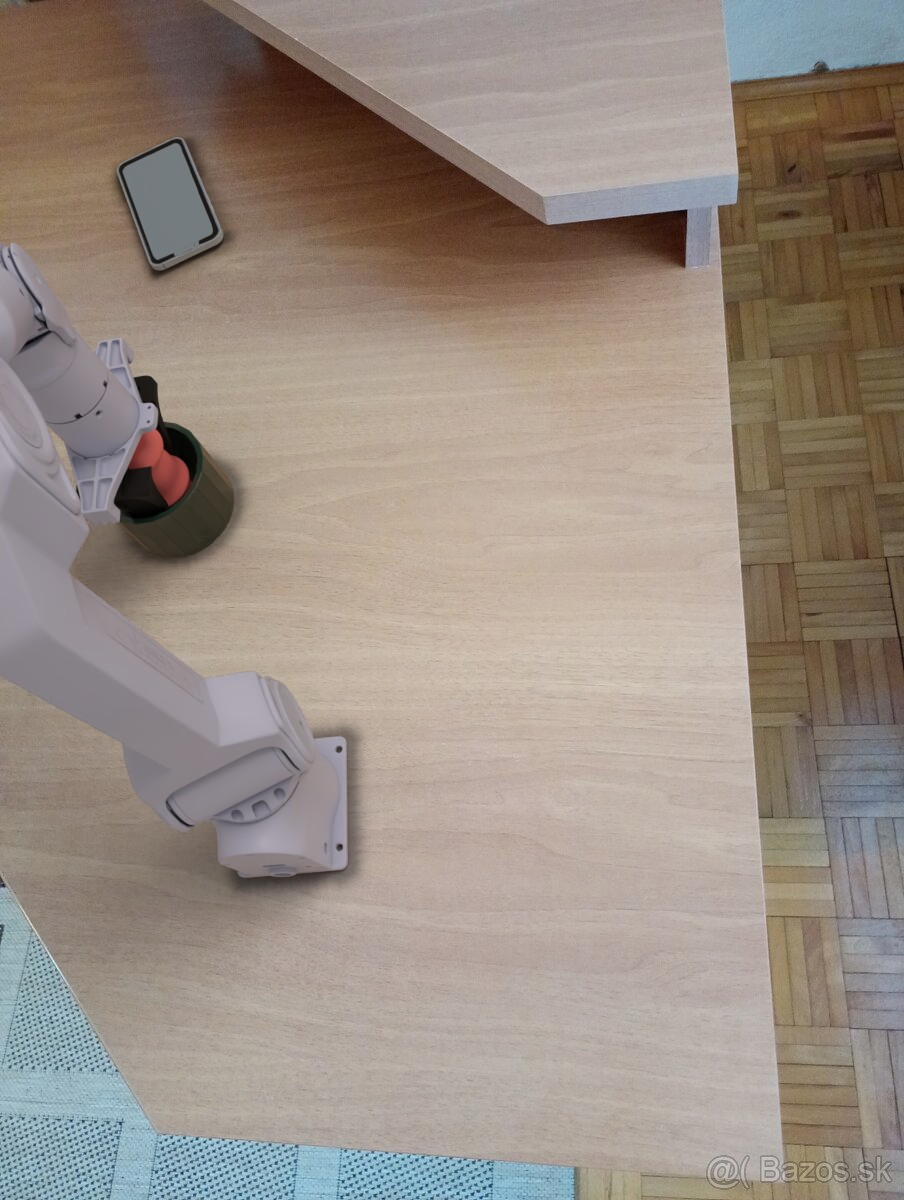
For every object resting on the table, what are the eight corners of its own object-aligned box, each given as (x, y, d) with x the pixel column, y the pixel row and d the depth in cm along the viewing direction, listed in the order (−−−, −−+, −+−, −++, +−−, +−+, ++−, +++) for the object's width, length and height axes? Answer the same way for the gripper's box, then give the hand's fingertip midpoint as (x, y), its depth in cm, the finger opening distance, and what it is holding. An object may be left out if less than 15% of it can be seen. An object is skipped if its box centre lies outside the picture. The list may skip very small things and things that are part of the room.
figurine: (197, 533, 86) (105, 437, 72) (141, 528, 87) (40, 432, 74) (214, 477, 88) (128, 373, 74) (159, 472, 89) (64, 369, 75)
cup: (232, 550, 86) (200, 515, 80) (128, 564, 88) (89, 531, 82) (236, 453, 90) (205, 413, 84) (136, 468, 91) (99, 430, 85)
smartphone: (181, 133, 104) (224, 235, 98) (186, 141, 105) (228, 242, 99) (113, 166, 105) (151, 269, 98) (118, 173, 105) (155, 276, 99)
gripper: (115, 472, 69) (202, 559, 81) (131, 291, 74) (210, 398, 87) (15, 488, 70) (116, 571, 82) (39, 308, 76) (130, 411, 88)
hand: (159, 483), depth 85 cm, fingers closed on figurine, 5 cm apart
